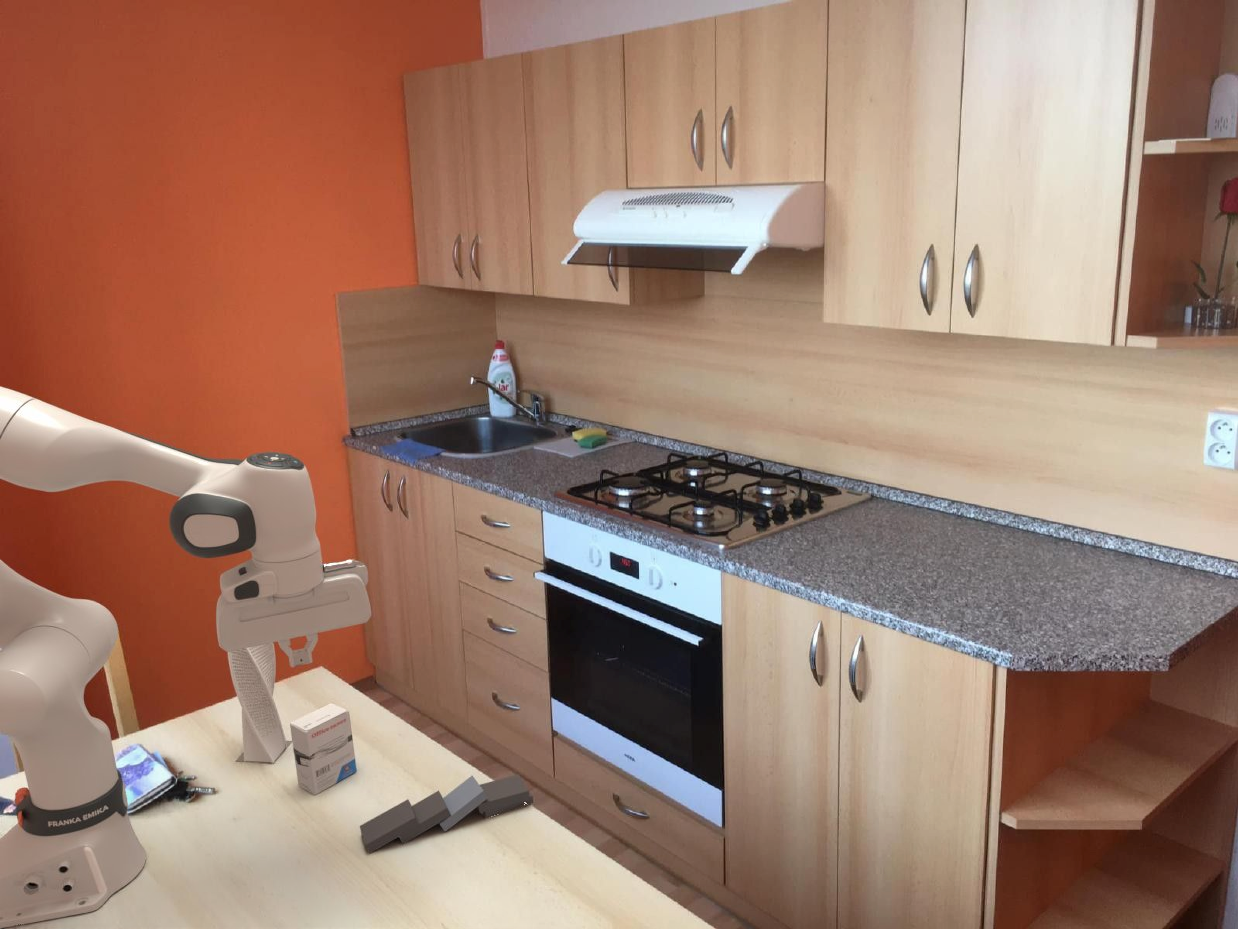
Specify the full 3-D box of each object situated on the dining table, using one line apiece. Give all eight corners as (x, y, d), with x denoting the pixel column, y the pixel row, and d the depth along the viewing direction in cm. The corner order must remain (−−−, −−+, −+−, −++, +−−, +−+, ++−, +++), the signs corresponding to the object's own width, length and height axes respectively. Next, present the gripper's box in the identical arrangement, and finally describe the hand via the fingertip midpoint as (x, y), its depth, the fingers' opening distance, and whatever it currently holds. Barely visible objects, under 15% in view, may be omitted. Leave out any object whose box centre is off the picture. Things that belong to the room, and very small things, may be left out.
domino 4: (479, 804, 158) (528, 791, 161) (470, 787, 163) (518, 774, 166) (479, 813, 159) (529, 799, 162) (471, 796, 163) (519, 783, 166)
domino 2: (398, 836, 153) (447, 807, 156) (391, 817, 158) (438, 790, 160) (403, 844, 154) (451, 815, 156) (395, 825, 158) (442, 798, 161)
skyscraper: (300, 743, 182) (280, 597, 175) (279, 769, 175) (257, 617, 167) (255, 741, 184) (233, 595, 176) (232, 766, 176) (209, 615, 168)
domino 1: (365, 845, 152) (415, 817, 154) (359, 826, 156) (408, 799, 158) (369, 853, 152) (419, 825, 154) (363, 834, 157) (412, 806, 159)
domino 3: (440, 824, 156) (483, 790, 158) (429, 808, 160) (472, 775, 162) (445, 831, 156) (488, 797, 159) (434, 815, 161) (477, 782, 163)
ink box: (340, 762, 176) (332, 700, 172) (358, 772, 173) (350, 709, 169) (296, 785, 170) (288, 721, 166) (314, 796, 166) (306, 731, 163)
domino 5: (485, 812, 159) (532, 795, 163) (473, 795, 163) (520, 780, 167) (486, 820, 159) (533, 804, 163) (474, 804, 164) (520, 789, 167)
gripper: (361, 549, 146) (370, 638, 150) (207, 577, 138) (222, 670, 142) (371, 563, 141) (380, 655, 145) (211, 594, 133) (226, 690, 137)
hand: (301, 663), depth 143 cm, fingers closed
